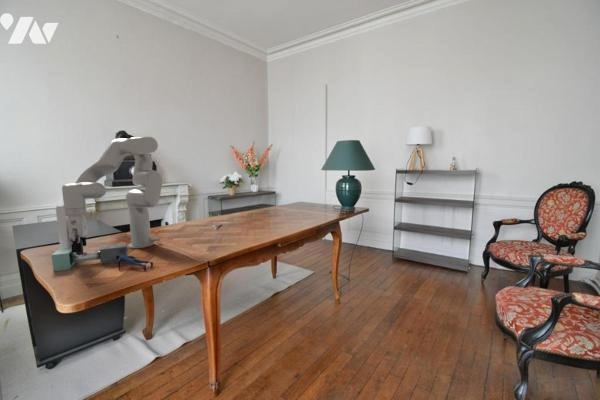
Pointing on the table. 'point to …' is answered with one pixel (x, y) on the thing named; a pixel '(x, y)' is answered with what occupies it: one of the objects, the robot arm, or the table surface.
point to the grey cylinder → (63, 228)
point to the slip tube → (84, 255)
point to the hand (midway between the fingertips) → (79, 249)
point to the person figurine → (133, 261)
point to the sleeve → (112, 252)
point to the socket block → (62, 259)
